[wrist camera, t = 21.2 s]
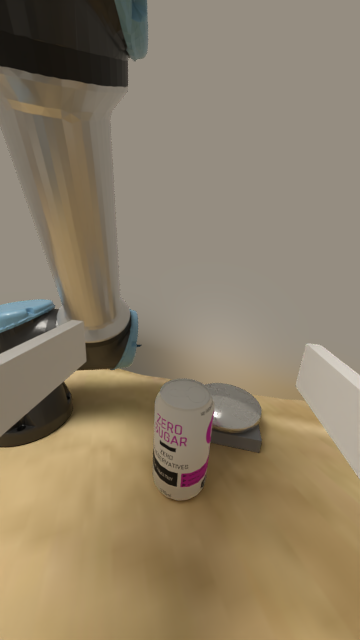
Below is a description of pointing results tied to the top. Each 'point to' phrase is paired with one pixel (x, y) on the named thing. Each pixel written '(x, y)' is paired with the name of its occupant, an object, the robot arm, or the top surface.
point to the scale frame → (238, 439)
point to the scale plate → (233, 408)
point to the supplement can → (182, 438)
